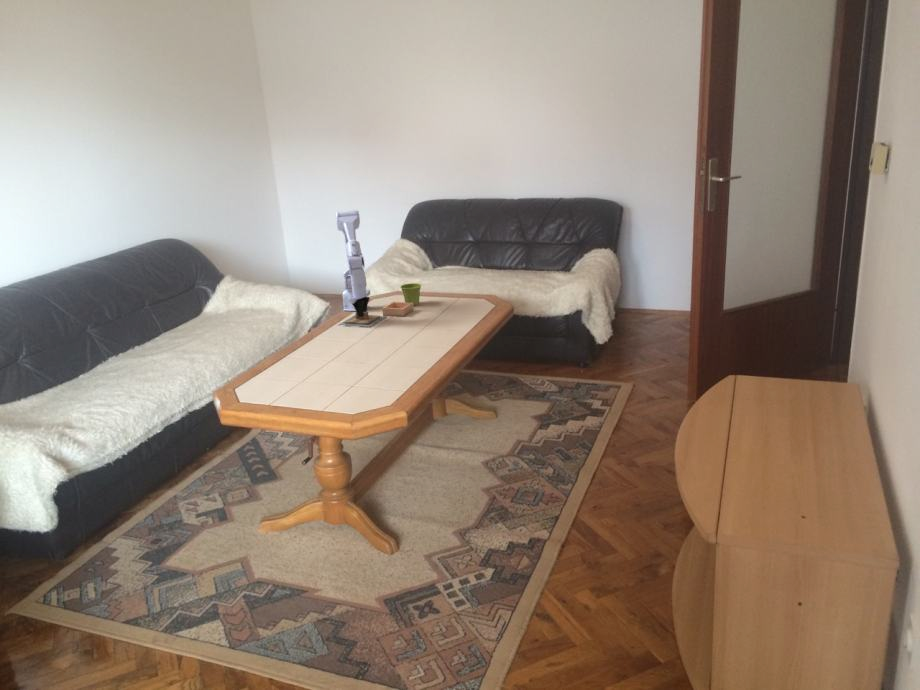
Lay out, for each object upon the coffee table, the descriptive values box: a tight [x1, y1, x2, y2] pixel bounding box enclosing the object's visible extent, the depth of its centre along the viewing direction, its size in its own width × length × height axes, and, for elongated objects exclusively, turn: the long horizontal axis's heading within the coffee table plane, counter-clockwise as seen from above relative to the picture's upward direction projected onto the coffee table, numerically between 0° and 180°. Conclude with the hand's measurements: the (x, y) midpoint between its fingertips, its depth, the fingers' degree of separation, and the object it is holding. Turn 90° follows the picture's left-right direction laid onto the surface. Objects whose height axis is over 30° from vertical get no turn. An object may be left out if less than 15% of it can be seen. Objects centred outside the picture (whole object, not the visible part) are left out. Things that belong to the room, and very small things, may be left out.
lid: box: [344, 311, 381, 325], centre depth 318 cm, size 11×11×4 cm
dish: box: [382, 301, 415, 318], centre depth 326 cm, size 10×10×4 cm
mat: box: [338, 314, 388, 328], centre depth 318 cm, size 15×15×1 cm
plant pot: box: [400, 282, 422, 306], centre depth 337 cm, size 9×9×9 cm
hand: (362, 315), depth 317 cm, fingers closed on lid, 2 cm apart
